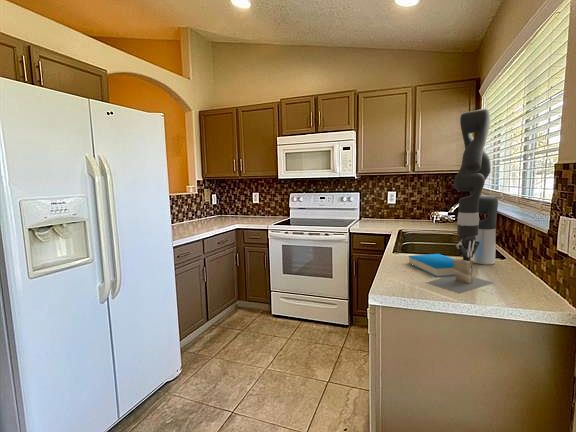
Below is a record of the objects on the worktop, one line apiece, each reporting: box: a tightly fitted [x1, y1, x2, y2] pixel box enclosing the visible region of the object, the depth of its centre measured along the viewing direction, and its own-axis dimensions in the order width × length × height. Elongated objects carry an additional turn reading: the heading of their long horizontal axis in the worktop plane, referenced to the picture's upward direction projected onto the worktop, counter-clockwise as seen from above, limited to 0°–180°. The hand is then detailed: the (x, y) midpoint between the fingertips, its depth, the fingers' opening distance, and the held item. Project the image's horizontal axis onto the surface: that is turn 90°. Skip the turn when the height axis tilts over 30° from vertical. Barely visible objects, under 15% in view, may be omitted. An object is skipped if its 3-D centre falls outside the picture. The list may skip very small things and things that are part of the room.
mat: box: [425, 275, 495, 295], centre depth 133 cm, size 22×15×1 cm
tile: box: [453, 258, 473, 284], centre depth 133 cm, size 2×6×9 cm, turn 27°
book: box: [408, 253, 473, 278], centre depth 154 cm, size 17×4×25 cm
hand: (466, 265), depth 133 cm, fingers closed
